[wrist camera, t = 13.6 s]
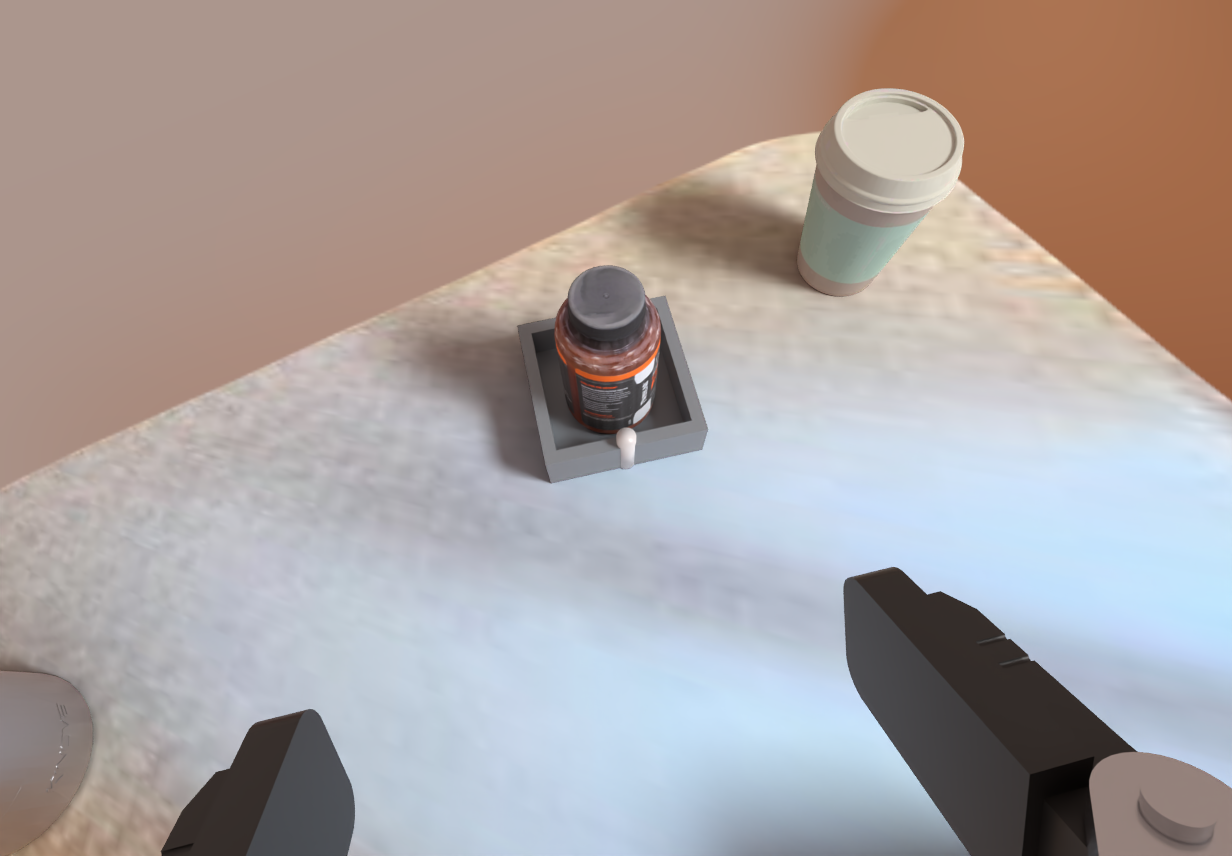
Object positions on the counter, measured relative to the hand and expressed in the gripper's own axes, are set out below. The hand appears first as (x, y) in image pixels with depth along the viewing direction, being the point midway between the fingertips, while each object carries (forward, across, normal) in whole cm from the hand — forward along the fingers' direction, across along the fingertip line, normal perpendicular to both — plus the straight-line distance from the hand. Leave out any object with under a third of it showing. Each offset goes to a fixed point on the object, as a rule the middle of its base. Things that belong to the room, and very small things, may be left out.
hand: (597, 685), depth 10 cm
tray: (+33, -4, +7) cm, 34 cm away
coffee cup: (+38, -23, +2) cm, 45 cm away
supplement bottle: (+33, -4, +7) cm, 34 cm away
